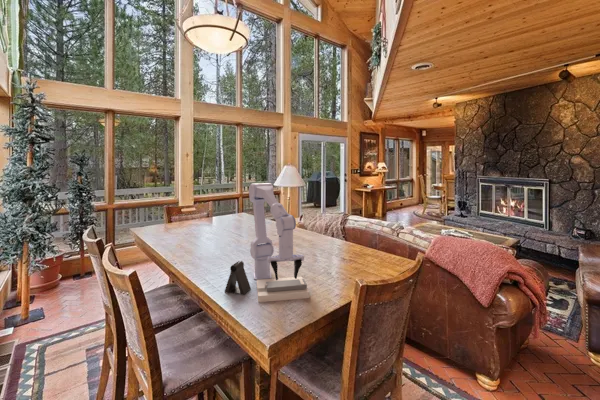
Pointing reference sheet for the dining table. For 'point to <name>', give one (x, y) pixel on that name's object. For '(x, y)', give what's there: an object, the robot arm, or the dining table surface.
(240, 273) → the black folding stand
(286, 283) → the cover
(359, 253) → the dining table surface
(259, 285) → the duct deck
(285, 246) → the robot arm
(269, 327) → the dining table surface
